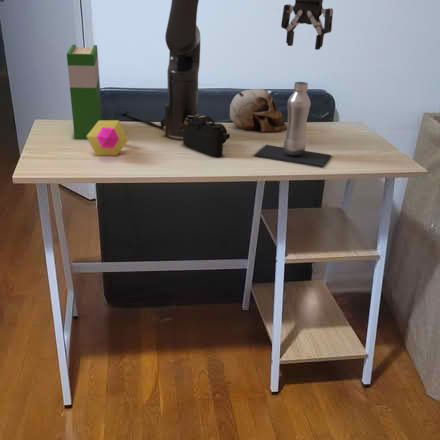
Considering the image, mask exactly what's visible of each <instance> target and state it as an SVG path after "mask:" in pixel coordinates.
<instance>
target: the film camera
mask: <svg viewBox="0 0 440 440" xmlns="http://www.w3.org/2000/svg"><path fill="white" fill-rule="evenodd" d="M180 129H181V130H182V131H184V136H183V140H182V144H183V145H184V146H186V147H187V148H188V149H193V150H195V151H197V152H200V153H202V154H205V155H208V156H211V157H213V158H220V157H222V156H223V148H224V147H223V145H224V144H225V143H226V142H227V141H228V139H230V137H231V134H230V133H228V130H227V128H226V127H225V125H224V124H222V123H217V122H215V120H214V119H212V117H211V116H210V115H208V114H205V113H203V114H197V115H196V116H195V118H194V116H187V118H185V120H184V124H182V125H181V126H180Z"/></svg>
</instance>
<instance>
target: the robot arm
mask: <svg viewBox="0 0 440 440" xmlns="http://www.w3.org/2000/svg"><path fill="white" fill-rule="evenodd" d="M294 1H295V2H294V5H292V4H291V3H290V4H289V3H288V4H284V5H283V9H282V18H281V22H280V23H281V24H280V26H281V28H282V29H283V30H286V39H285V43H286V44H287V46H288V47H292V46H294V39H295V31H294V30H295V29H296V28H297V26H298V25H300V24H302V25H304V24H306V25H308V26H309V25H312V27H313V28H314V29H315V31H316V33H317V34H316V39H315V45H314V50H316V51H318V50H320V49H321V48H322V47H323V44H324V37H325V35H326V34H329V33H331V32H332V28H333V14H334V9H333V8H332V7H330V8H323V3H324V0H294ZM199 3H200V0H171V5H170V10H169V15H168V20H167V25H166V29H165V34H164V35H165V36H164V38H165V44H166V47H167V49H168V50H169V59H168V66H167V71H166V72H167V76H166V77H167V103H166V104H165V105H164V117H163V119H162V120H160V125H158V124H156V123H154V122H152V121H151V120H148V119H145V118H142V117H139V116H137V115H133V114H132V113H131V112H129V113H127V114H126V113H123V112H122V114H121V116H126V115H127V116H128V117H130V118H132V119H134V120H136V121H139V122H142V123H145V124H148V125H150V126H152V127H155V128H157V129H161V130H162V129H165V130H164V134H165V137H169V138H171V139H174V140H175V139H176V140H181V141H183V136H184V131H182V130H181V129H180V126H181V125H182V124H184V120H185V118H187V116H194V118H195V116H196V115H198V113H199V112H198V110H199V108H198V104H199V71H200V66H201V65H200V64H201V63H200V62H201V61H200V60H201V31H200V29H199V26H198V25H197V20H198V19H197V18H198V7H199ZM292 13H293V14H294V17H292V19H291V14H292ZM321 16H322V17H323V18H324V24H323V22H322V20H321V18H320V17H321ZM290 19H291V20H290Z"/></svg>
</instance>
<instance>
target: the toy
mask: <svg viewBox="0 0 440 440" xmlns="http://www.w3.org/2000/svg"><path fill="white" fill-rule="evenodd" d="M87 138H88V139H87V140H88V142H89V144H90V147H91V148H92V150H93V152H94V153H95V156H96V157H97V156H98V157H99V156H100V157H101V156H103V157H104V156H118V154H119V153H120V152H121V150H122V149H123V148H124V147H125V146H126V145H127V143H128V141H129V140H130V139H129V138H128V136H127V134H126V132H125V129H124V128H123V125H122V123H121V122H120V119H115V120H114V119H110V120H103V119H102V120H99V121H98V122H97V123H96V125H95V126H94V127H93V128H92V130H91V131H90V132H89V133H88V135H87Z"/></svg>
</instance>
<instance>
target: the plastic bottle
mask: <svg viewBox="0 0 440 440" xmlns="http://www.w3.org/2000/svg"><path fill="white" fill-rule="evenodd" d="M308 87H309V83H308V82H305V81H295V82H294V86H293V92H292V94H291V95H290V96H289V97H288V99H287V106H286V108H287V123H286V125H287V129H286V131H285V137H284V140H283V144H282V147H283V150H284V152H285V153H286V154H288V155H302V154H303V153H304V151H306V146H307V143H306V142H307V141H306V129H307V122H308V116H309V113H310V108H311V99H310V97H309V95H308V93H307V92H308Z"/></svg>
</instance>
